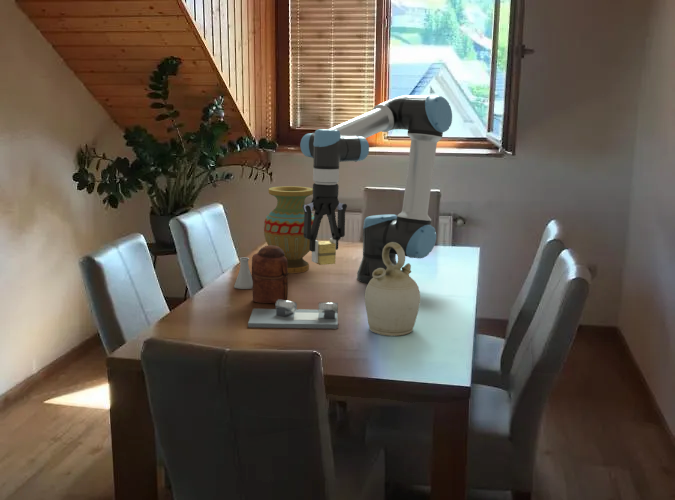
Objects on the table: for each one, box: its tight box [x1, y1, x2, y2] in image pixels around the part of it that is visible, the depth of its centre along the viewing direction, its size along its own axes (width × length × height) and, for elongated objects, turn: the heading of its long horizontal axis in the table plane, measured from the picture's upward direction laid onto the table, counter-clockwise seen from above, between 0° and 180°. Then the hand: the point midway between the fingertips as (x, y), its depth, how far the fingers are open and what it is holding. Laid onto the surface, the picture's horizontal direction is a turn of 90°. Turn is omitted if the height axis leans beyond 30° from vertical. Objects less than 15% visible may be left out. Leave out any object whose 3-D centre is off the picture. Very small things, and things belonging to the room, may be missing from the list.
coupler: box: [316, 240, 337, 266], centre depth 214 cm, size 5×5×6 cm
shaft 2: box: [317, 302, 339, 319], centre depth 208 cm, size 6×4×4 cm
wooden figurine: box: [251, 244, 289, 305], centre depth 226 cm, size 12×6×18 cm, turn 84°
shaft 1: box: [274, 299, 298, 317], centre depth 210 cm, size 6×4×4 cm
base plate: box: [247, 308, 339, 330], centre depth 209 cm, size 25×14×1 cm, turn 91°
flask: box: [233, 256, 253, 290], centre depth 243 cm, size 7×7×10 cm
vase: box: [263, 185, 314, 274], centre depth 267 cm, size 20×20×30 cm
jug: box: [364, 242, 421, 337], centre depth 200 cm, size 15×16×25 cm
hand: (323, 261), depth 215 cm, fingers closed on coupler, 5 cm apart
